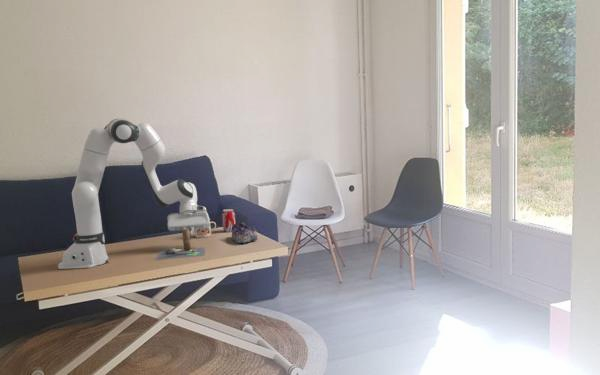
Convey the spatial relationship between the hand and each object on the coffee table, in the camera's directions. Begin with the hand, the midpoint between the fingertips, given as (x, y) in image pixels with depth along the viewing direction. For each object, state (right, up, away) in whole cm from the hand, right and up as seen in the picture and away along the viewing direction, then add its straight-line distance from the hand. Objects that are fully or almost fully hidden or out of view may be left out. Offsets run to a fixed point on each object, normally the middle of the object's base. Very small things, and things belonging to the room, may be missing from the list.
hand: (189, 235), depth 278 cm
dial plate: (-3, -9, -4) cm, 11 cm away
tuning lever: (-3, -8, -5) cm, 10 cm away
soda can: (+14, -1, +46) cm, 49 cm away
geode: (+23, -4, +22) cm, 33 cm away
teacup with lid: (+2, -3, +38) cm, 38 cm away
